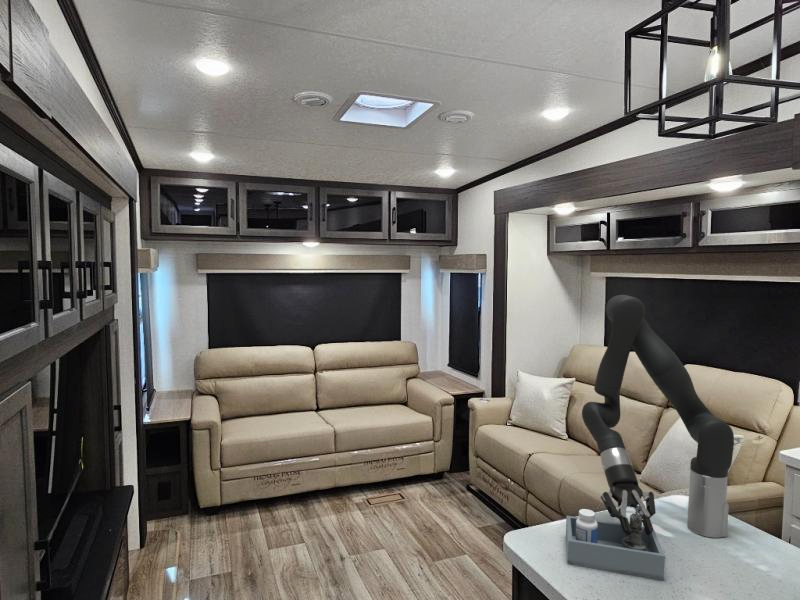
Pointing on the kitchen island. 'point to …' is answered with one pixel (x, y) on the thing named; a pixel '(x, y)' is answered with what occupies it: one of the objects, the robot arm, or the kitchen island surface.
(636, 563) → the tote
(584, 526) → the pill bottle
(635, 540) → the grey stone chess piece
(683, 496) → the kitchen island surface
